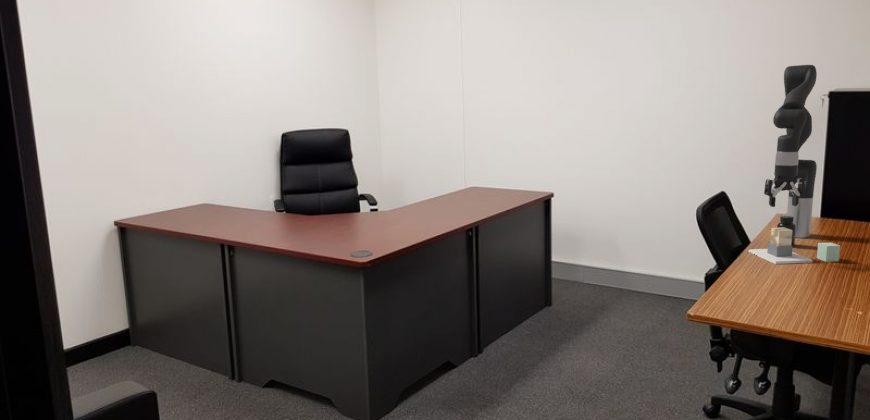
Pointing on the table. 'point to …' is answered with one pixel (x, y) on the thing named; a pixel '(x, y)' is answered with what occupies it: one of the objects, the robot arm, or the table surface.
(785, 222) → the supplement bottle
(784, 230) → the birch block
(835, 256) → the sage block
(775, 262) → the build plate
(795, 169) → the robot arm
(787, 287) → the table surface
